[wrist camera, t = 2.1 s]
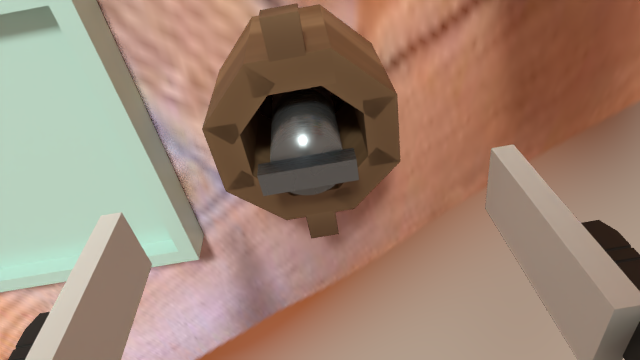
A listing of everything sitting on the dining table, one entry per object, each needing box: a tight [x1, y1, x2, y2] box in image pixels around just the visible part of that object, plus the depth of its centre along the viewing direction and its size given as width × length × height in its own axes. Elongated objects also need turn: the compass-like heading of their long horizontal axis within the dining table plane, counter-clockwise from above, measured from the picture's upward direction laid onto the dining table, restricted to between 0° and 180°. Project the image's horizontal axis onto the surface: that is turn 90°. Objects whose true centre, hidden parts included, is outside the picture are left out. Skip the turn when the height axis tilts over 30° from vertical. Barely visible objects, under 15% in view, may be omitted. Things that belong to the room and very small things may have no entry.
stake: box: [257, 86, 359, 196], centre depth 19 cm, size 3×4×8 cm
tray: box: [0, 0, 204, 292], centre depth 23 cm, size 17×17×2 cm
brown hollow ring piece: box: [202, 4, 400, 238], centre depth 20 cm, size 11×8×6 cm
